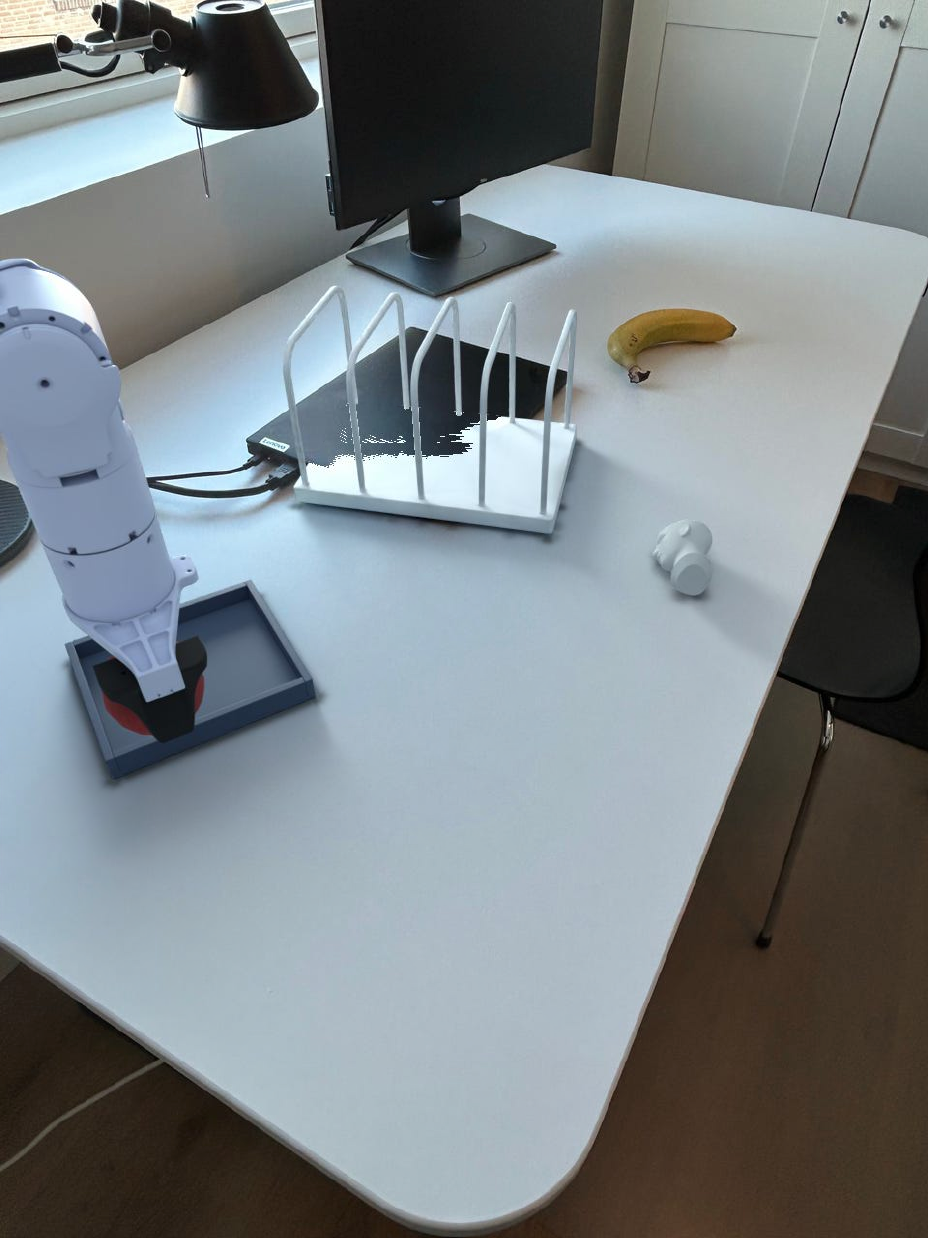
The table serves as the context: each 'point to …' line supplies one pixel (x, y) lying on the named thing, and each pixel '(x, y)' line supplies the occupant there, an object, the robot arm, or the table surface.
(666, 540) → the pale two-lobed sculpture
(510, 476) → the file sorter
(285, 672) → the tray
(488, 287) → the table surface
